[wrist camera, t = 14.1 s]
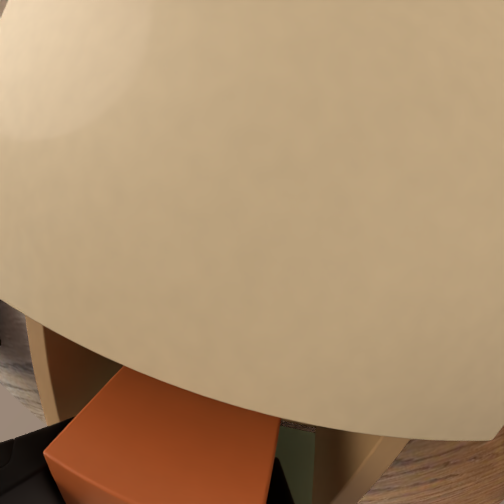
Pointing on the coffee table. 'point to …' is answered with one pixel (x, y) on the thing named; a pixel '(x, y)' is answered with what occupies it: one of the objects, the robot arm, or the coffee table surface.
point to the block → (162, 448)
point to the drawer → (289, 439)
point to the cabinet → (266, 200)
